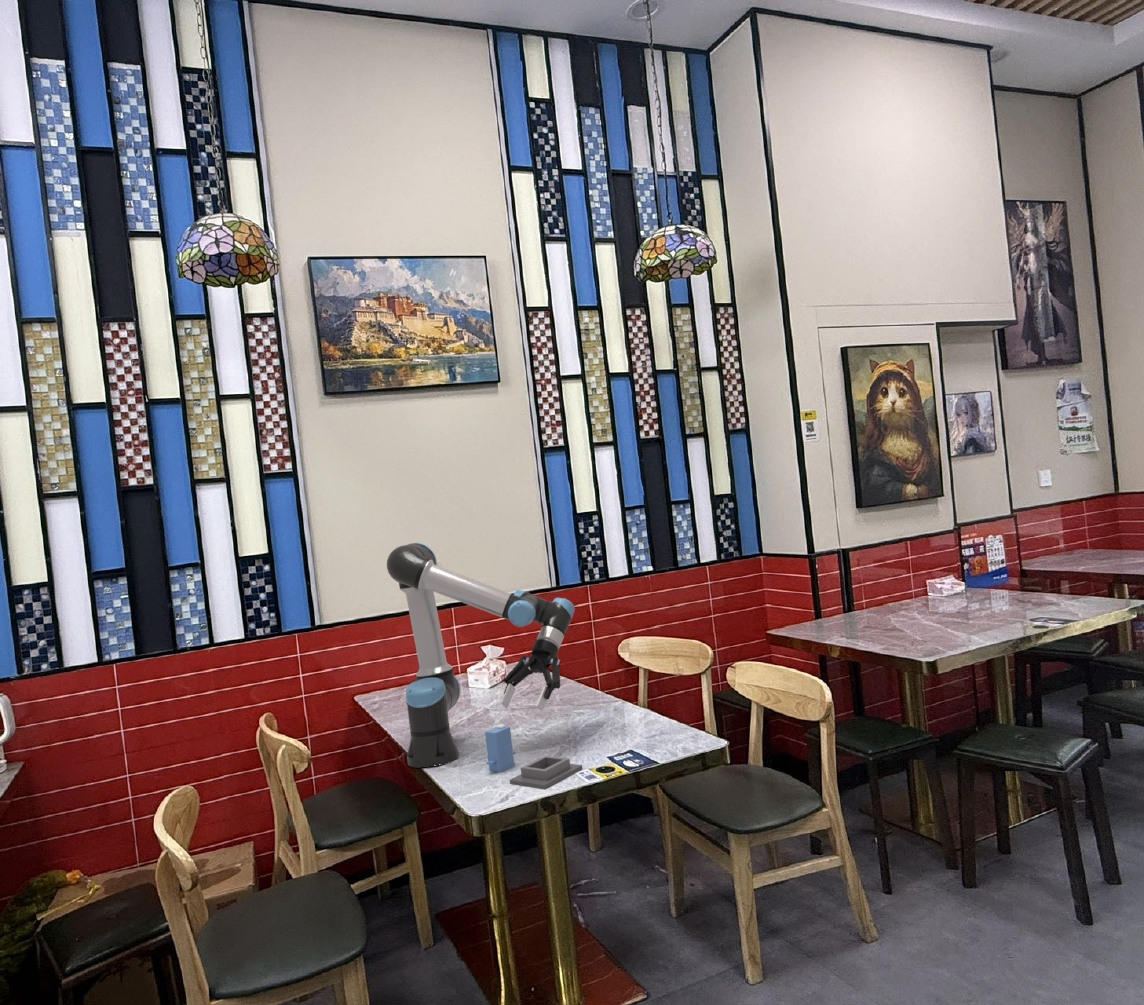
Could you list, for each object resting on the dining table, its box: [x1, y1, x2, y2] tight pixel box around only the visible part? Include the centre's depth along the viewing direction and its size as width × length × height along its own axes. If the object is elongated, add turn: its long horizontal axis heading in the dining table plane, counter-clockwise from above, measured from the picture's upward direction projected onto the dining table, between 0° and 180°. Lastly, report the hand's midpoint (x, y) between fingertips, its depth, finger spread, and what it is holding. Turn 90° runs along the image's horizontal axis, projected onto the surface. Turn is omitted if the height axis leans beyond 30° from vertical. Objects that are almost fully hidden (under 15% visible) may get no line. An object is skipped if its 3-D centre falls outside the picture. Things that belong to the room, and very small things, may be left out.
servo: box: [484, 723, 516, 774], centre depth 232 cm, size 10×4×12 cm, turn 143°
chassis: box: [509, 755, 583, 790], centre depth 221 cm, size 16×12×4 cm
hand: (521, 707), depth 241 cm, fingers open, 13 cm apart
